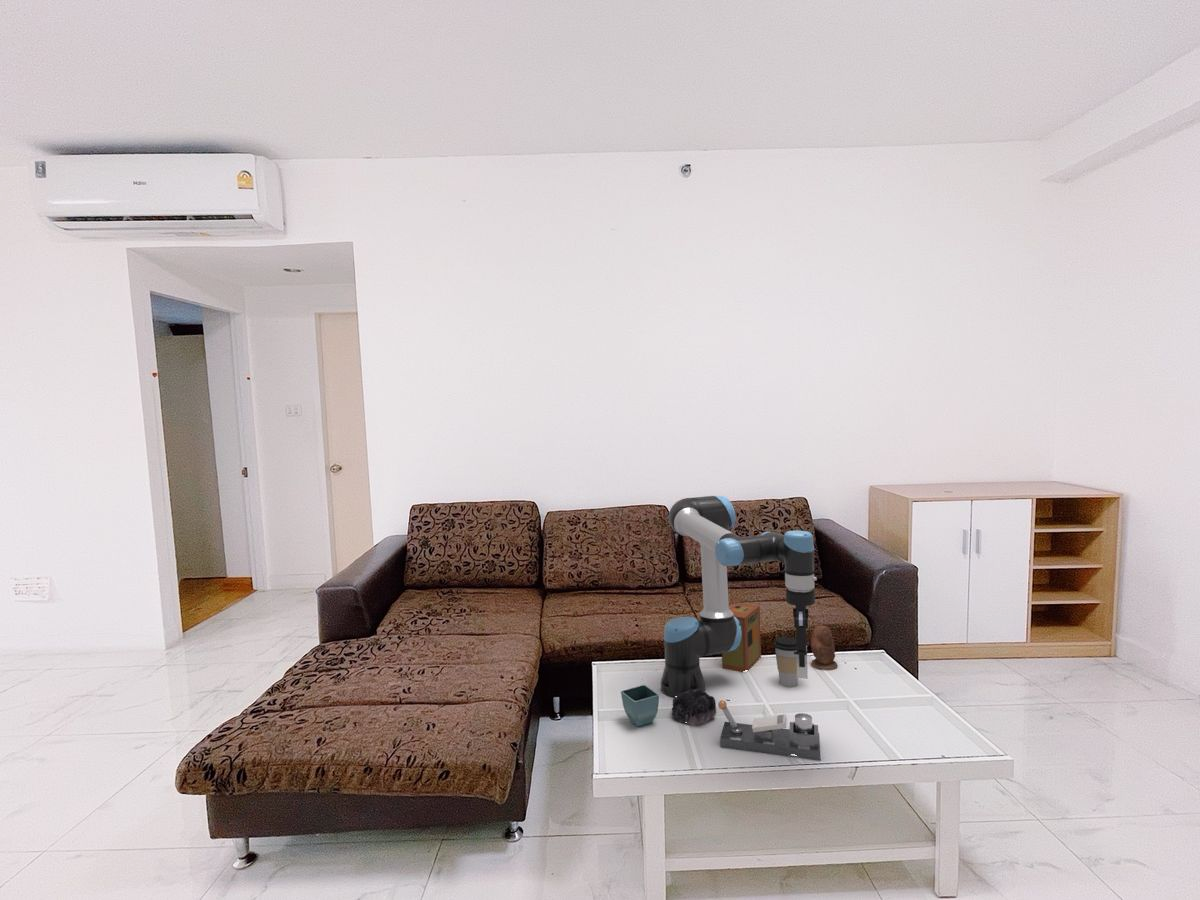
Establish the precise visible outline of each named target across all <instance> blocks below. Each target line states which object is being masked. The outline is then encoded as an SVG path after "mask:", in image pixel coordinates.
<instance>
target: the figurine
mask: <svg viewBox="0 0 1200 900" xmlns="http://www.w3.org/2000/svg"><path fill="white" fill-rule="evenodd" d="M810 647H811V648H810V649H811V652H812V654H813V657H815V658H814V659H812V660H811V663H810V665H811V667H813V668H815V669H816V670H817V669H818V670H822V669H826V670H825V671H833V670H835V669H838V663H837V662H836V661H835V657H836V654H835V653H836V649H835V648H836V647H835V641H834V637H833V634H832V631H831V629H830V627H828V626H827V625H817V626H815V627H814V628H813V630H812V633H811V638H810ZM819 668H820V669H819Z"/></svg>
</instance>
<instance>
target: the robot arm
mask: <svg viewBox="0 0 1200 900" xmlns="http://www.w3.org/2000/svg"><path fill="white" fill-rule="evenodd" d="M736 519H737V517H736V511H735V508H734V506H733V503H731V501H730V500H729V498H727V497H725V496H724V495H707V496H697V497H686V498H681V499H679V500H678V501H676V502H675V503H674V504H673V505H672V506H671V507H670V510H669V512H668V523H669V525H670V527H671V528H672V530H673V531H675V533H677V534H678V535H680V536H682V537H683V536H684V537H689V538H692V539H693V540H694V541H696V542H698V543H699V544H700V560H701V561H700V562H701V580H702V581H701V583H702V601H703V608H702V609H701V611H700V612H699V620H698V619H697V618H695V617H694V616H680V617H679V616H678V617H675V618H671V619H670V620H669V621H667V622H666V623H665V625H664V631H663V640H664V641H663V642H664V643H663V645H664V646H663V647H664V663H665V664H664V670H663V672H662V676H661V680H660V691H661V692H662V693H663V694H664V695H666V696H669V697H672V698H674V697H673V696H678V695H680V694H682V693H684V692H687V691H690V690H695V689H696V688H700V689H701V690H703V691H704V692H706V680H705V678H704V675H703V672H702V669H701V665H700V657H706V656H712V655H717V654H722V653H727V652H729V651H733V650H735V649H736V648H737V647H738V646H739V644H740V642H741V636H742V631H741V626H739V624H740V623H739V621H738V619H737V618H736V617H734V614H733V612H732V611H731V610H730V609H729V608H730V606H729V587H728V567H727V566H731V567H737V566H741V565H742V566H743V565H750V564H758V563H766V562H767V563H768V562H774V561H776V562H781V563H783V564H784V569H785V570H784V571H785V572H784V581H785V587H786V589H785V601H786V603H787V604H788V605H790V606H795V607H793V608H792V616H793V620H794V621H793V622H794V623H793V625H794V626H793V627H794V628H795V631H796V632H795V633H796V634H795V635H796V637H795V638H796V641H797V651H796V652H794V654H796V659H797V678H798V679H804V680H806V679H808V678H809V675H808V646H810V641H807V638H808V637H807V629H808V626H809V625H808V624H809V623H808V622H809V608H806V607H810V606H813V605H815V603H816V592H815V591H816V590H814V589H815V581H817V580H818V578H817V576H815V545H814V535H813V534H812V533H811V532H810V531H807V530H788V531H786V532H785V533H784V534H781V533H779V532H775V531H764V532H762V533H761V534H758V535H749V536H740V535H737V534H735V533H733V532H731V531H730V529H732V528H733V527H734V526H735V524H736V521H737V520H736Z"/></svg>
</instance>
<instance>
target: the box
mask: <svg viewBox="0 0 1200 900" xmlns="http://www.w3.org/2000/svg"><path fill="white" fill-rule="evenodd" d="M729 609H730V610H731V611H732V612H733V614H734V617H736V618H737V619H738V621H739V623H740V624H739V626H741V631H742V636H741V642H740V644H739V646H738V647H737V648H736V649H735V650H733V651H729V652H727V653H721V667H722V669H723V670H728V671H729V670H730V671H734V672H739V673H743V671H745V670H748V671H749V670H751V669H752V667H754V666H755V664H757V663H758V661H759V660H760V659H761V658H762V646H761V610H760V609H761V607H760V605H758V604H757V605H755V604H751V603H750V604H748V603H741V602H736V603H735V604H733V605H732V606H729ZM760 657H761V658H760ZM759 658H760V659H759Z"/></svg>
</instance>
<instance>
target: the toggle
mask: <svg viewBox="0 0 1200 900" xmlns="http://www.w3.org/2000/svg"><path fill="white" fill-rule="evenodd" d="M717 706H718V708H719V709H720V710H722V712H723V714H724V715H725V716H724V717H726V719H727V722H730V724H731V726H732V728H734V727H736V726H737V724H736V723H737V722H736V720H735V718H734V717H733V715H732V714H731V712H730V709H728V705H727V702H726V701H725V700H723V699H722V700H719V701H718V704H717Z"/></svg>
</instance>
